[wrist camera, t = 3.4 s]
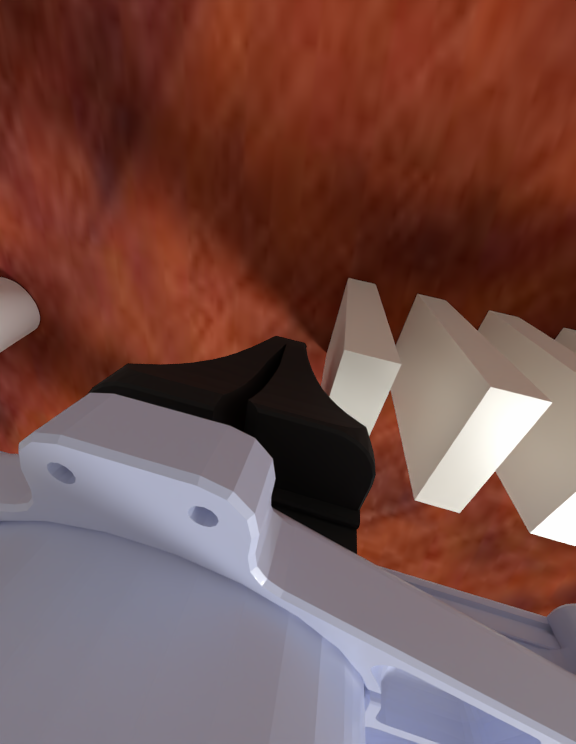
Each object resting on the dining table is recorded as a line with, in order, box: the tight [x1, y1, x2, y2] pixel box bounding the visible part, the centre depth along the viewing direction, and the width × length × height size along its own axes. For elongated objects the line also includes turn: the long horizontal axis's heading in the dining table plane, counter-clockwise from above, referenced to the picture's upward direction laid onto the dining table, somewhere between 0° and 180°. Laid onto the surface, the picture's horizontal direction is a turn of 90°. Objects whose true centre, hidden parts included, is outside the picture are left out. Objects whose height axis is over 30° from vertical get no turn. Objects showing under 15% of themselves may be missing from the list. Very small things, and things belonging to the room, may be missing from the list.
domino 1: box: [321, 278, 401, 435], centre depth 13 cm, size 2×5×10 cm, turn 169°
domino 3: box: [478, 310, 576, 546], centre depth 13 cm, size 2×5×10 cm, turn 169°
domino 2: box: [391, 294, 553, 513], centre depth 13 cm, size 2×5×10 cm, turn 169°
